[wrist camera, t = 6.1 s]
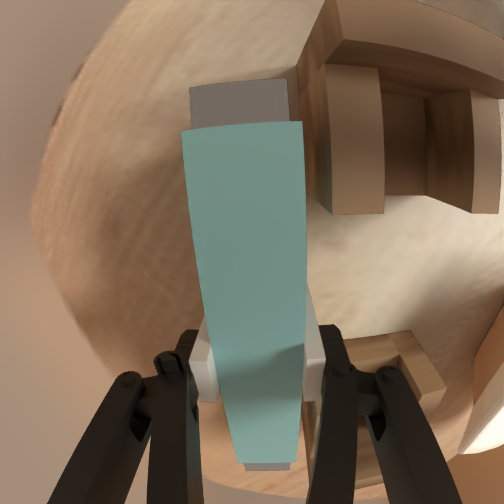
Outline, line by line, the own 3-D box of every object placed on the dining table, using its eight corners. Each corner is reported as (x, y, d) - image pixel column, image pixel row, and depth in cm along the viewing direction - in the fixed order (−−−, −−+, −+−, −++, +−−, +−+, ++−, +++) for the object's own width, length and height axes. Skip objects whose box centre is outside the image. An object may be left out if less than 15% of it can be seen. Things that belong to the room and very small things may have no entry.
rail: (210, 109, 14) (177, 89, 8) (286, 104, 14) (298, 78, 8) (245, 413, 22) (240, 470, 16) (291, 411, 22) (295, 469, 16)
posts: (296, 64, 16) (332, -16, 6) (425, 79, 16) (525, 52, 5) (300, 406, 27) (310, 496, 16) (390, 393, 26) (421, 471, 16)
